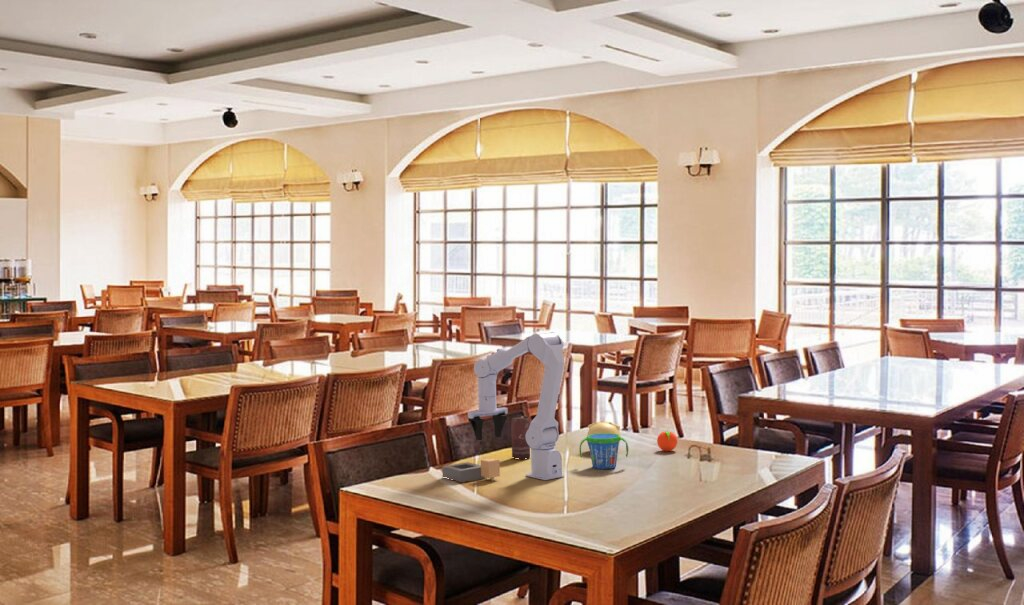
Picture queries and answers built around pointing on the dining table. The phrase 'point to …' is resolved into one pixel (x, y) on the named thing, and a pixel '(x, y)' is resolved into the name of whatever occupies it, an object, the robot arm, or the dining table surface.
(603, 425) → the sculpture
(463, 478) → the socket
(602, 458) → the snack cup
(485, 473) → the plug
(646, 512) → the dining table surface
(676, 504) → the dining table surface
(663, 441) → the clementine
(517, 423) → the can
